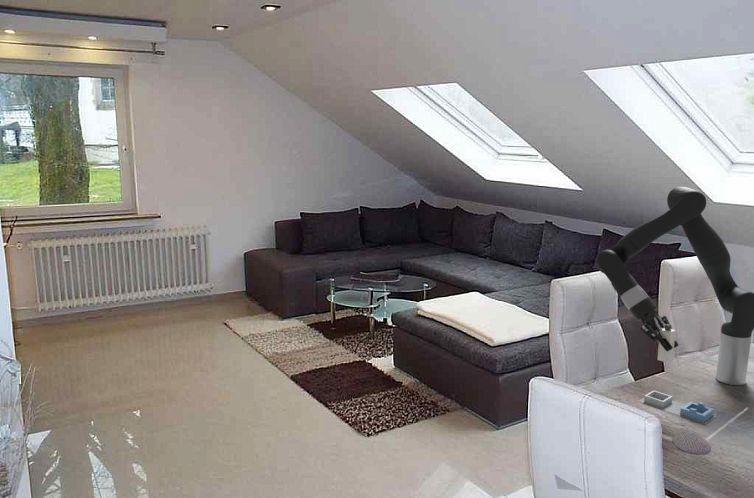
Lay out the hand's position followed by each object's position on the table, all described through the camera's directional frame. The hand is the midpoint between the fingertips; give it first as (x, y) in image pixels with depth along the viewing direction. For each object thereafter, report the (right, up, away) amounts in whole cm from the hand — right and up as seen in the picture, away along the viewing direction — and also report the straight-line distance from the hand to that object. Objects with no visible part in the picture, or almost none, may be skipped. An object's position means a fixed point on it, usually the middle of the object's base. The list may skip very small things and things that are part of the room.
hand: (672, 348), depth 193 cm
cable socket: (+2, -20, +2) cm, 20 cm away
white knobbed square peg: (-1, -4, +2) cm, 5 cm away
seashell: (-4, -24, -19) cm, 31 cm away
